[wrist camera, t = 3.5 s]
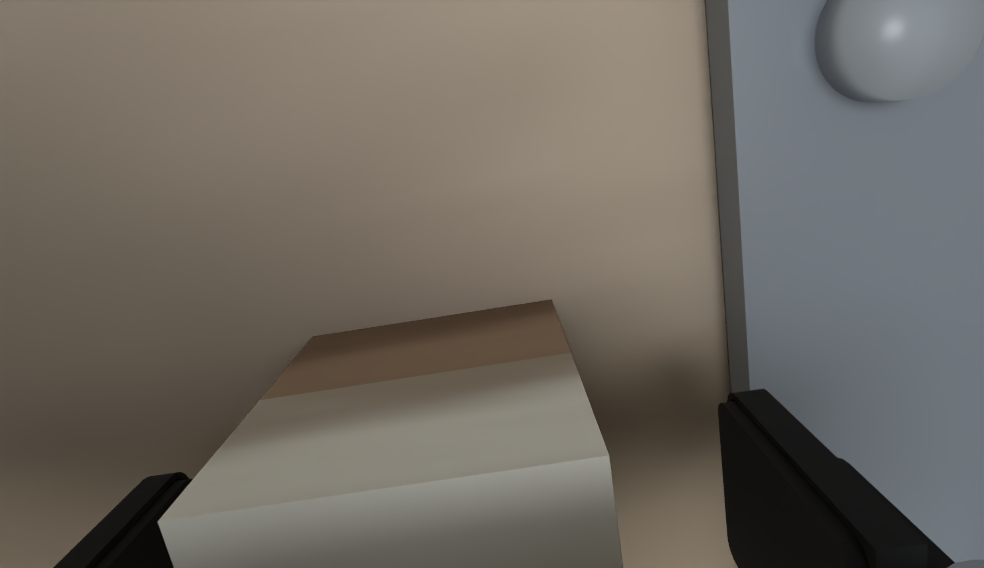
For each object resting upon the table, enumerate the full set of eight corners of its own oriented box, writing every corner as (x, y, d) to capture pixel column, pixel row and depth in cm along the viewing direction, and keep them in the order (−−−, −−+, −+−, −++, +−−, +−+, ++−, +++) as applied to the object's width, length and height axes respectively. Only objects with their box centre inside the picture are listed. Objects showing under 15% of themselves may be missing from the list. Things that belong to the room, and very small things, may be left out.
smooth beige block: (313, 336, 12) (157, 521, 7) (551, 299, 12) (608, 455, 6) (364, 539, 14) (272, 845, 8) (580, 508, 13) (651, 797, 8)
